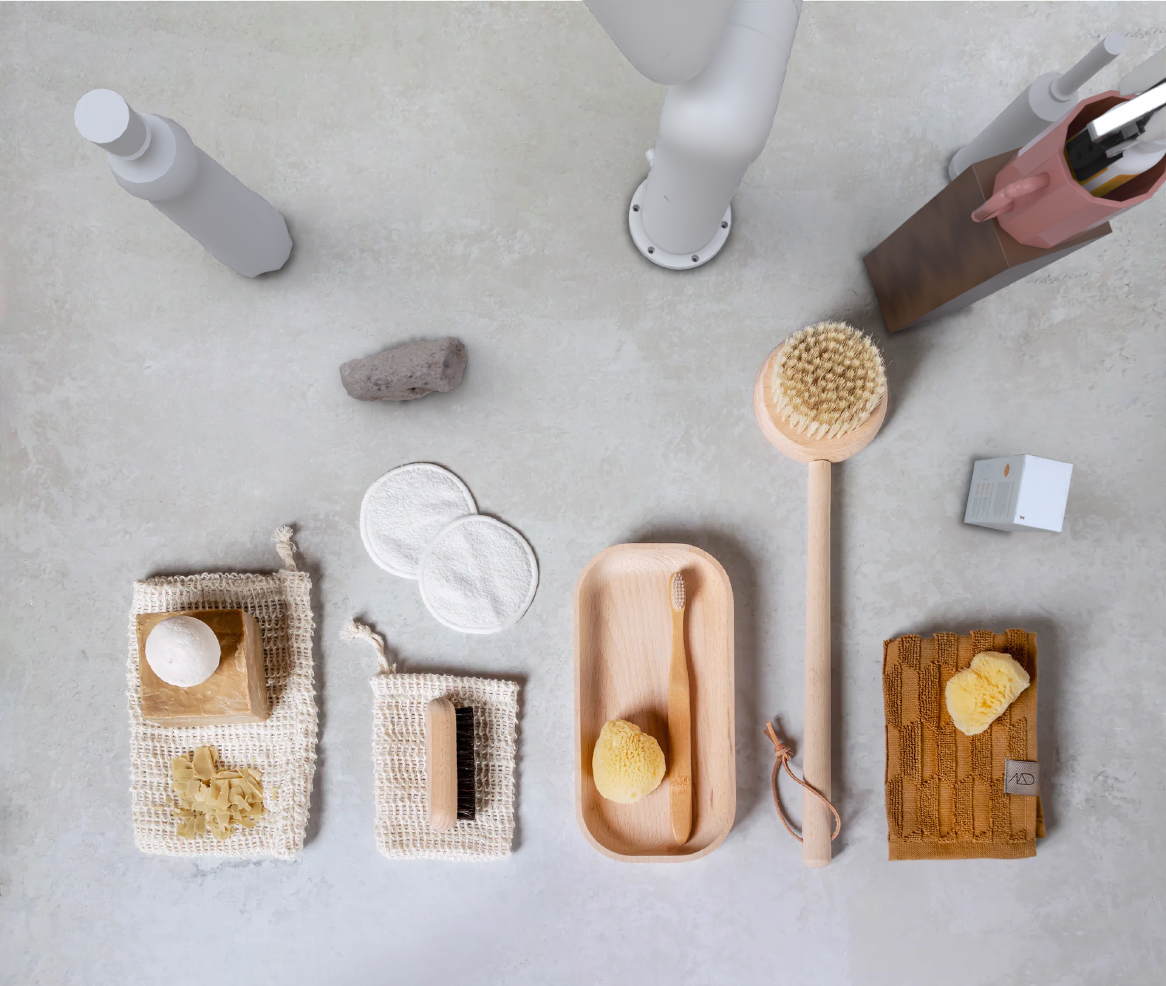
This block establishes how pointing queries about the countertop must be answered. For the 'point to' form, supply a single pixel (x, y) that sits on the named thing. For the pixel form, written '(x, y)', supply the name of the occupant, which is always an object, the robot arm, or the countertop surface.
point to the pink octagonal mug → (1061, 184)
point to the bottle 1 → (185, 184)
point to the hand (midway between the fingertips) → (1113, 148)
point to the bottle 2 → (1036, 107)
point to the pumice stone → (406, 371)
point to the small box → (1019, 493)
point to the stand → (955, 252)
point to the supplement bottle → (1121, 163)
